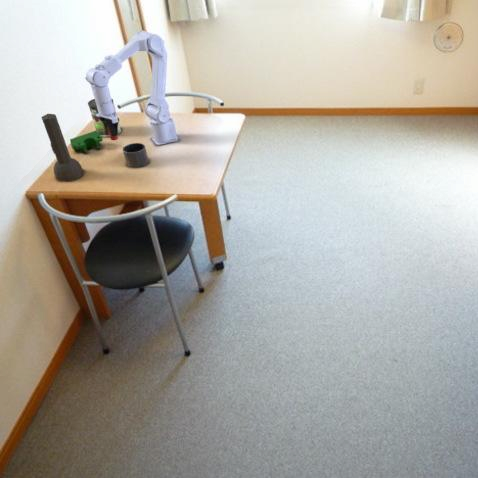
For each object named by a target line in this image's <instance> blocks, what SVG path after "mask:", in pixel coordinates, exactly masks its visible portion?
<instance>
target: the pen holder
mask: <svg viewBox="0 0 478 478" xmlns="http://www.w3.org/2000/svg"><path fill="white" fill-rule="evenodd" d="M122 153H123V155H124V160H125V163H126V166H127V167H129V168H132V169H133V168H134V169H135V168H141V167H144V166H147V164H148V163H149V156H148V152H147V148H146V145H145V144H144V143H141V142H132V143H128V144H127V145H124V146H123V148H122Z"/></svg>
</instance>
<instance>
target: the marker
mask: <svg viewBox="0 0 478 478" xmlns="http://www.w3.org/2000/svg"><path fill="white" fill-rule="evenodd" d="M105 120H107V118H105ZM107 128H108V127H107ZM108 132H109V135H110V136H109V138H110V140H111V141H117V140H119V135H117V136H114V137H113V136H112V135H111V133H110V131H109V129H108Z"/></svg>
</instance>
